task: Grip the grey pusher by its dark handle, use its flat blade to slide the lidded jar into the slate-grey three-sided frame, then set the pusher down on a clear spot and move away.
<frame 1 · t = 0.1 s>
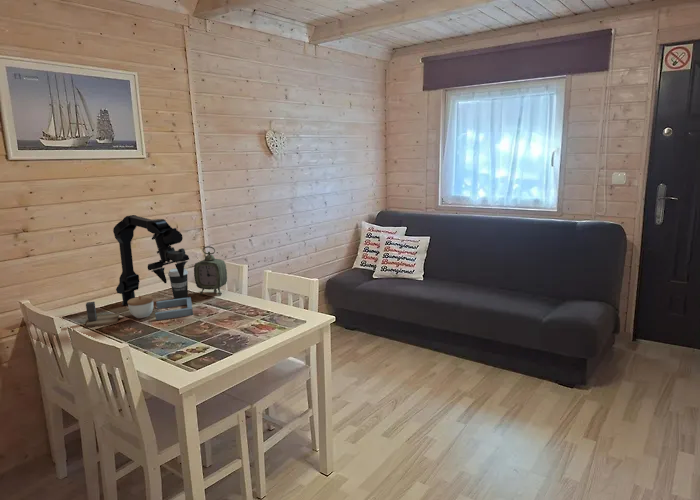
hand: (174, 280, 213), 15 cm above the table, tool pointing down, fingers open, 9 cm apart
lidded jar: (142, 316, 215), on the table
tabletop clock: (213, 293, 245), on the table
slate frame: (174, 311, 219), on the table
coffee cup: (181, 299, 238), on the table
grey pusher: (93, 323, 208), on the table
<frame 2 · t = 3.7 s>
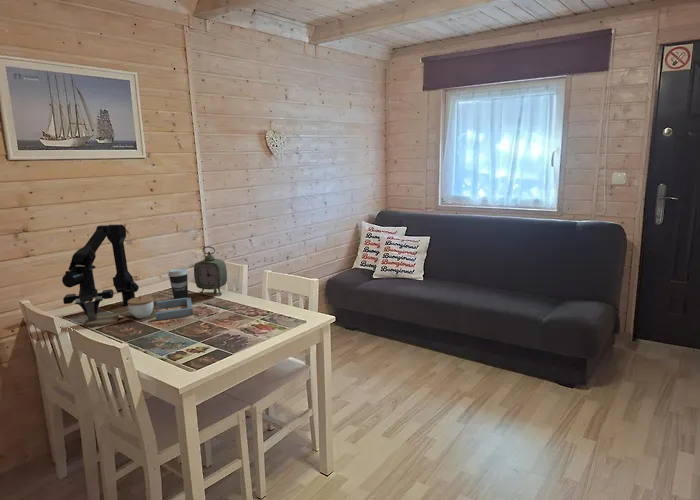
hand: (92, 315, 207), 4 cm above the table, tool pointing down, fingers closed on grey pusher, 3 cm apart
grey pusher: (93, 323, 208), on the table, touching gripper
everything else where it was.
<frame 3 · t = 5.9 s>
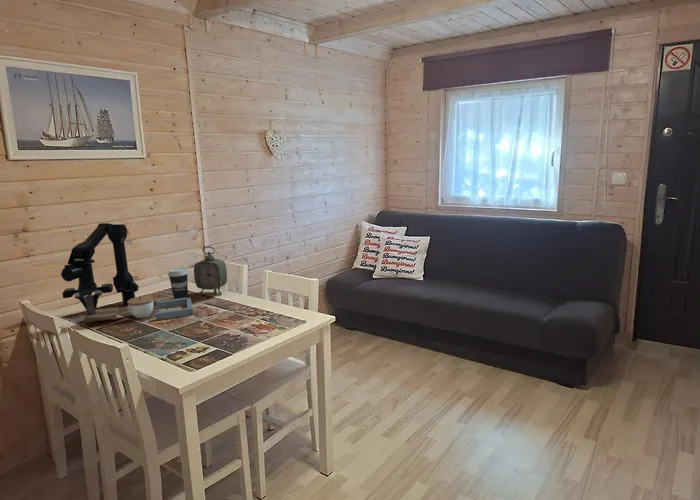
hand: (91, 309, 207), 6 cm above the table, tool pointing down, fingers closed on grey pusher, 3 cm apart
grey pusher: (92, 317, 207), point 3 cm above the table, touching gripper
everything else where it was.
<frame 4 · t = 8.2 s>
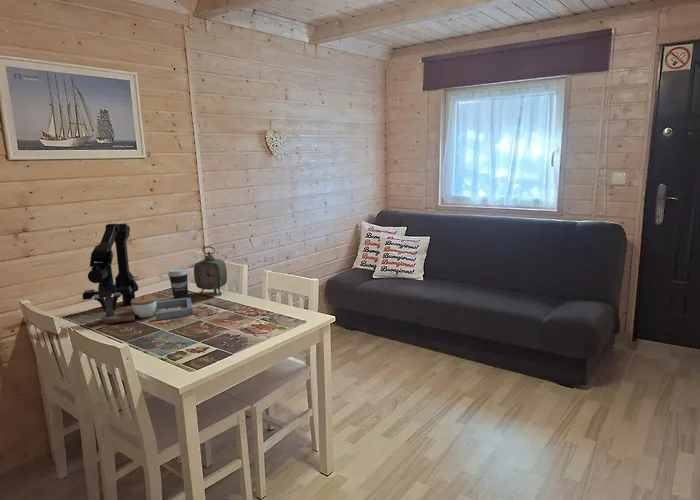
hand: (110, 311, 209), 4 cm above the table, tool pointing down, fingers closed on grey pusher, 3 cm apart
lidded jar: (145, 315, 215), on the table, touching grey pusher
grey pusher: (110, 318, 210), point 1 cm above the table, touching gripper, lidded jar
everything else where it was.
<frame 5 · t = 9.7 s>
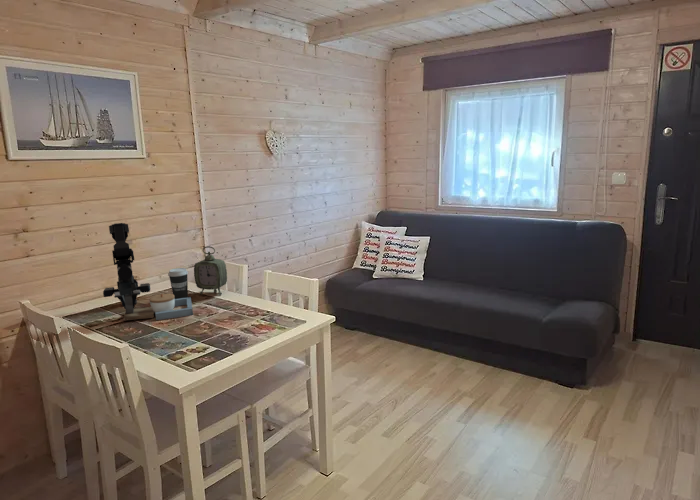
hand: (129, 308, 212), 4 cm above the table, tool pointing down, fingers closed on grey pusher, 3 cm apart
lidded jar: (164, 313, 217), on the table, touching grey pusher
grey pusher: (130, 315, 213), point 1 cm above the table, touching gripper, lidded jar
everything else where it was.
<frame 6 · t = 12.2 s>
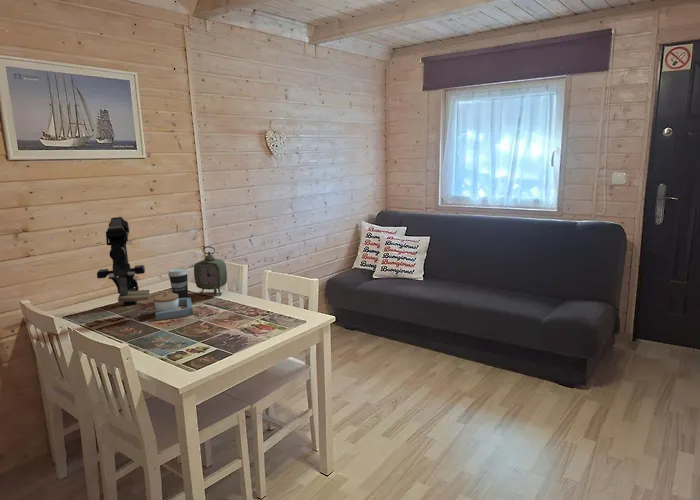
hand: (124, 290, 210), 13 cm above the table, tool pointing down, fingers closed on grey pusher, 3 cm apart
lidded jar: (168, 313, 218), on the table
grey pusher: (124, 298, 210), point 9 cm above the table, touching gripper
everything else where it was.
when the fingers open (4 cm above the table, at t = 14.9 s): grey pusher drops 1 cm, on the table.
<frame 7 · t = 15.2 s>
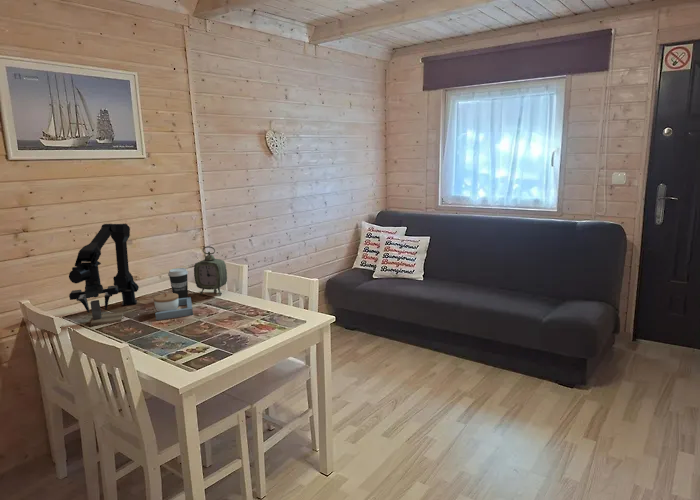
hand: (97, 310, 210), 4 cm above the table, tool pointing down, fingers open, 7 cm apart
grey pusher: (97, 321, 210), on the table
everything else where it was.
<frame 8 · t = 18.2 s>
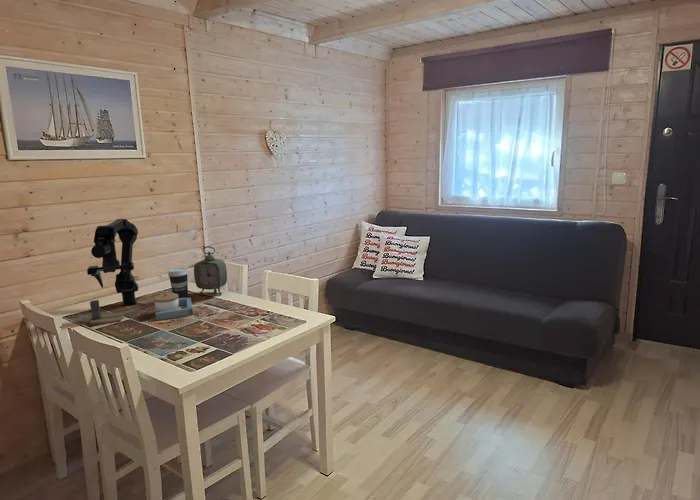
hand: (113, 286, 216), 13 cm above the table, tool pointing down, fingers open, 9 cm apart
nothing on the table moved.
at the end: lidded jar inside the target area (2.7 cm from its centre), on the table; lidded jar tilted 0°; the gripper is holding nothing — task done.
